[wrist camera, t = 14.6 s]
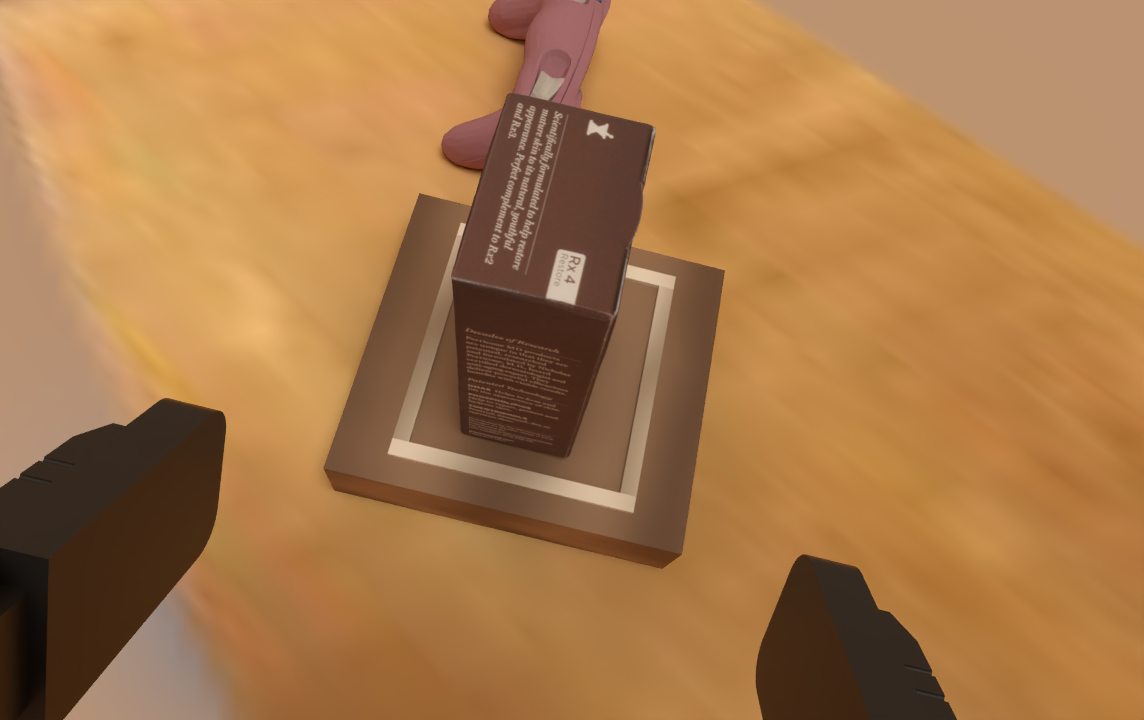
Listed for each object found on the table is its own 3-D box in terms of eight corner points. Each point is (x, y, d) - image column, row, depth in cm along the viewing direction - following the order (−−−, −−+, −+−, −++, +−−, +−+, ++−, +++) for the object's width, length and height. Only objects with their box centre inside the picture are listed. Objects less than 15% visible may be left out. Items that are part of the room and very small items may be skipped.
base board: (704, 303, 37) (726, 268, 34) (662, 568, 32) (683, 553, 29) (421, 232, 37) (419, 190, 34) (334, 490, 32) (322, 466, 29)
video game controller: (512, 208, 40) (596, 142, 34) (428, 160, 38) (503, 82, 32) (558, 57, 44) (640, -23, 38) (485, 6, 42) (560, -86, 36)
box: (488, 295, 33) (507, 81, 22) (599, 323, 33) (673, 124, 22) (447, 437, 30) (444, 275, 19) (568, 467, 30) (633, 323, 19)
